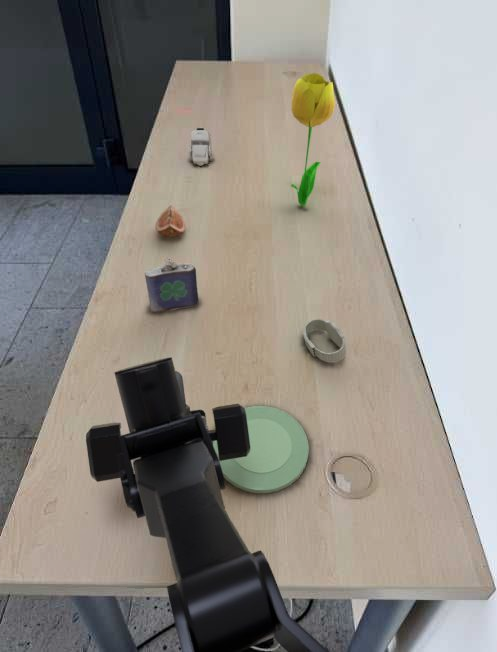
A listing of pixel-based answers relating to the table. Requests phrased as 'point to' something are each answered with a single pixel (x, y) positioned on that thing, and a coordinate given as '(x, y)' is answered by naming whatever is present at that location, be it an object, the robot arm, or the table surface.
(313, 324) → the wristwatch
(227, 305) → the table surface
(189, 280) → the flask
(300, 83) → the flower
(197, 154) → the white toy car
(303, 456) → the plate
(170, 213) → the fruit slice
